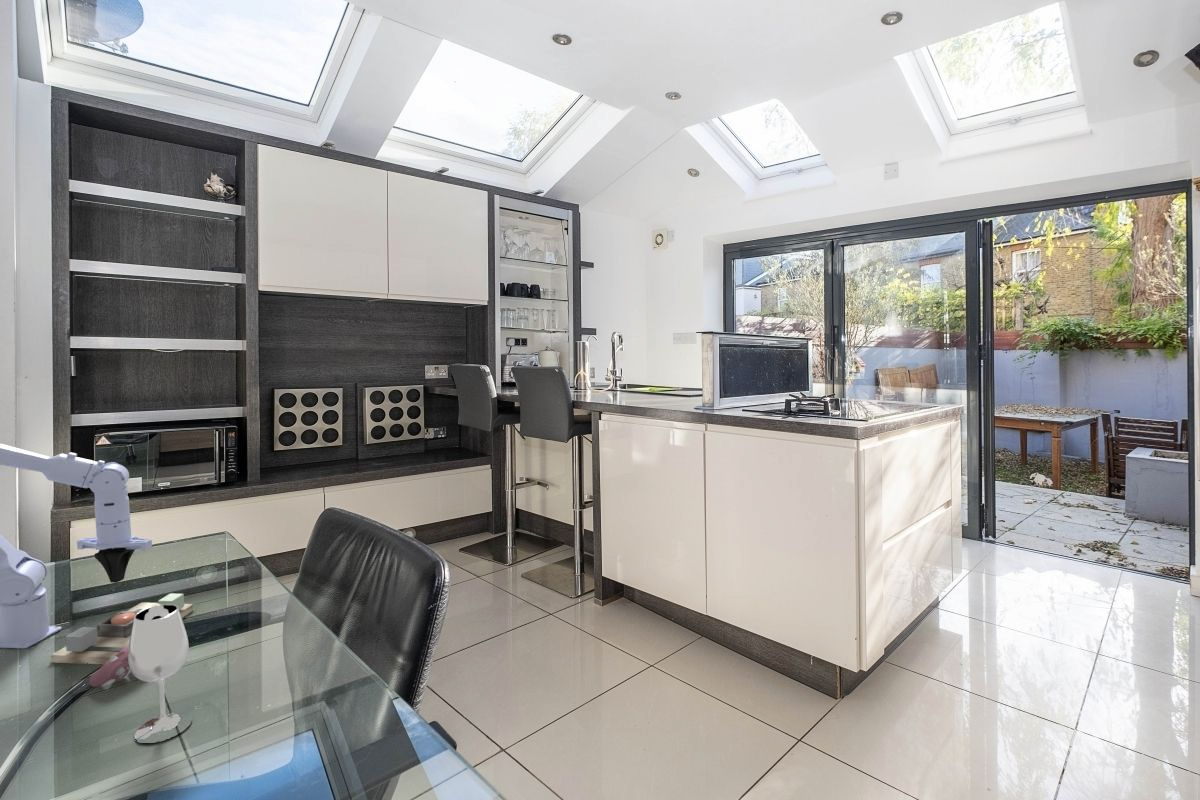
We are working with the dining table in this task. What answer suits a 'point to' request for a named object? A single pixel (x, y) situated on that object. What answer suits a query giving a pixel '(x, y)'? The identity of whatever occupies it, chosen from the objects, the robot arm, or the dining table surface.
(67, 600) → the dining table surface
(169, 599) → the pale green block
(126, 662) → the video game controller
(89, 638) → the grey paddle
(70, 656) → the control board
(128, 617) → the pink round button
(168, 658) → the wineglass
